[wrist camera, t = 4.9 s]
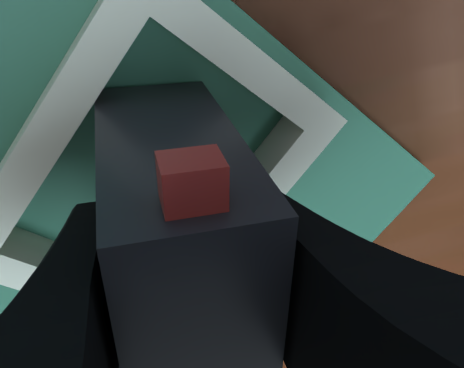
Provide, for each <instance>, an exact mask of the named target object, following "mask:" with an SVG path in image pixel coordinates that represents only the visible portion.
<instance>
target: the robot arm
mask: <svg viewBox="0 0 464 368" xmlns="http://www.w3.org/2000/svg"><path fill="white" fill-rule="evenodd" d="M282 194H283V195H284V196H285V198H286V199H287V201H288V202H289V203H290V205H291V206H292V208H293V209H294V210H295V212H296V213H297V215H298V216H299V221H298V230H297V239H296V248H295V257H294V266H293V275H292V284H291V293H290V302H289V311H288V320H287V329H286V338H285V347H284V356H283V360H284V363H285V365H286V367H287V368H464V276H461V275H458V274H455V273H451V272H449V271H446V270H443V269H440V268H437V267H434V266H431V265H428V264H425V263H422V262H419V261H417V260H414V259H411V258H409V257H406V256H403V255H401V254H398V253H396V252H394V251H391V250H389V249H387V248H384V247H382V246H380V245H377V244H375V243H373V242H370V241H368V240H366V239H364V238H362V237H360V236H358V235H356V234H354V233H352V232H350V231H348V230H346V229H344V228H342V227H340V226H338V225H336V224H335V223H333V222H331V221H329V220H327V219H326V218H324V217H322V216H320V215H319V214H317V213H315V212H313V211H312V210H310V209H308V208H307V207H305V206H303V205H302V204H300V203H298V202H297V201H295V200H293V199H292V198H290V197H289V196H287V195H285V194H284V193H282ZM0 368H119V361H118V356H117V351H116V346H115V341H114V336H113V331H112V326H111V321H110V316H109V311H108V306H107V301H106V295H105V290H104V285H103V280H102V275H101V270H100V265H99V260H98V255H97V250H96V201H95V202H87V203H80V204H76V206H75V207H74V208H73V209H72V211H71V213H70V215H69V217H68V219H67V220H66V222H65V224H64V226H63V228H62V229H61V231H60V233H59V234H58V236H57V238H56V239H55V241H54V242H53V244H52V246H51V247H50V249H49V250H48V252H47V253H46V255H45V256H44V258H43V259H42V261H41V262H40V264H39V265H38V267H37V268H36V269H35V271H34V272H33V273H32V275H31V276H30V277H29V279H28V280H27V281H26V283H25V284H24V285H23V287H22V288H21V289H20V291H19V292H18V293H17V295H16V296H15V297H14V298H13V300H12V301H11V302H10V303H9V305H8V306H7V307H6V308H5V309H4V310H3V312H2V313H1V314H0Z"/></svg>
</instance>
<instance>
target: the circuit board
mask: <svg viewBox="0 0 464 368" xmlns="http://www.w3.org/2000/svg"><path fill="white" fill-rule="evenodd" d="M200 81H202V82H203V83H204V85H205V86H206V88H207V89H208V90H209V92H210V93H211V95H212V96H213V97H214V99H215V100H216V102H217V103H218V104H219V106H220V107H221V109H222V110H223V111H224V113H225V114H226V116H227V117H228V118H229V120H230V121H231V123H232V124H233V125H234V127H235V128H236V129H237V131H238V132H239V134H240V135H241V136H242V138H243V139H244V141H245V142H246V143H247V145H248V146H249V148H250V149H251V150H252V152H253V153H254V155H255V156H256V157H257V159H258V160H259V162H260V163H261V164H262V166H263V167H264V169H265V170H266V171H267V173H268V174H269V176H270V177H271V178H272V180H273V181H274V182H275V184H276V185H277V187H278V188H279V189H280V191H281V192H282V193H284V194H285V195H287V196H289V197H290V198H292V199H293V200H295V201H297V202H298V203H300V204H302V205H303V206H305V207H307V208H308V209H310V210H312V211H313V212H315V213H317V214H319V215H320V216H322V217H324V218H326V219H327V220H329V221H331V222H333V223H335V224H336V225H338V226H340V227H342V228H344V229H346V230H348V231H350V232H352V233H354V234H356V235H358V236H360V237H362V238H364V239H366V240H368V241H370V242H373V241H374V240H375V239H376V237H377V236H378V235H379V234H380V233H381V232H382V231H383V230H384V229H385V228H386V227H387V226H388V225H389V224H390V223H391V222H392V221H393V219H394V218H395V217H396V216H397V215H398V214H399V213H400V212H401V211H402V210H403V209H404V208H405V207H406V206H407V205H408V204H409V203H410V201H411V200H412V199H413V198H414V197H415V196H416V195H417V194H418V193H419V192H420V191H421V190H422V189H423V188H424V187H425V186H426V185H427V183H428V182H429V181H430V180H431V179H432V178H433V177H434V176H435V175H434V174H433V173H432V172H431V171H429V170H428V169H427V168H426V167H425V166H424V165H422V164H421V163H420V162H419V161H418V160H417V159H415V158H414V157H413V156H412V155H411V154H410V153H408V152H407V151H406V150H405V149H404V148H403V147H401V146H400V145H399V144H398V143H397V142H396V141H394V140H393V139H392V138H391V137H390V136H389V135H387V134H386V133H385V132H384V131H383V130H382V129H380V128H379V127H378V126H377V125H376V124H375V123H373V122H372V121H371V120H370V119H369V118H368V117H366V116H365V115H364V114H363V113H362V112H361V111H359V110H358V109H357V108H356V107H355V106H354V105H352V104H351V103H350V102H349V101H348V100H347V99H345V98H344V97H343V96H342V95H341V94H340V93H338V92H337V91H336V90H335V89H334V88H333V87H331V86H330V85H329V84H328V83H327V82H326V81H324V80H323V79H322V78H321V77H320V76H319V75H317V74H316V73H315V72H314V71H313V70H312V69H310V68H309V67H308V66H307V65H306V64H305V63H303V62H302V61H301V60H300V59H299V58H298V57H296V56H295V55H294V54H293V53H292V52H291V51H289V50H288V49H287V48H286V47H285V46H284V45H282V44H281V43H280V42H279V41H278V40H277V39H275V38H274V37H273V36H272V35H271V34H270V33H268V32H267V31H266V30H265V29H264V28H263V27H261V26H260V25H259V24H258V23H257V22H256V21H254V20H253V19H252V18H251V17H250V16H249V15H247V14H246V13H245V12H244V11H243V10H242V9H240V8H239V7H238V6H237V5H236V4H235V3H233V2H232V1H231V0H0V314H1V313H2V312H3V310H4V309H5V308H6V307H7V306H8V305H9V303H10V302H11V301H12V300H13V298H14V297H15V296H16V295H17V293H18V292H19V291H20V289H21V288H22V287H23V285H24V284H25V283H26V281H27V280H28V279H29V277H30V276H31V275H32V273H33V272H34V271H35V269H36V268H37V267H38V265H39V264H40V262H41V261H42V259H43V258H44V256H45V255H46V253H47V252H48V250H49V249H50V247H51V246H52V244H53V242H54V241H55V239H56V238H57V236H58V234H59V233H60V231H61V229H62V228H63V226H64V224H65V222H66V220H67V219H68V217H69V215H70V213H71V211H72V209H73V208H74V207H75V206H76V204H80V203H87V202H95V201H96V183H95V104H94V102H95V101H96V99H97V98H98V96H99V94H100V93H101V91H102V90H103V89H107V88H120V87H133V86H147V85H160V84H173V83H186V82H200ZM119 368H120V366H119Z"/></svg>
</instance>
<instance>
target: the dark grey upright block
mask: <svg viewBox="0 0 464 368" xmlns="http://www.w3.org/2000/svg"><path fill="white" fill-rule="evenodd" d="M94 104H95V183H96V250H97V255H98V260H99V265H100V270H101V275H102V280H103V285H104V290H105V295H106V301H107V306H108V311H109V316H110V321H111V326H112V331H113V336H114V341H115V346H116V351H117V356H118V361H119V366H120V368H282V365H283V356H284V347H285V338H286V329H287V320H288V311H289V302H290V293H291V284H292V275H293V266H294V257H295V248H296V239H297V230H298V221H299V216H298V215H297V213H296V212H295V210H294V209H293V208H292V206H291V205H290V203H289V202H288V201H287V199H286V198H285V196H284V195H283V194H282V192H281V191H280V189H279V188H278V187H277V185H276V184H275V182H274V181H273V180H272V178H271V177H270V176H269V174H268V173H267V171H266V170H265V169H264V167H263V166H262V164H261V163H260V162H259V160H258V159H257V157H256V156H255V155H254V153H253V152H252V150H251V149H250V148H249V146H248V145H247V143H246V142H245V141H244V139H243V138H242V136H241V135H240V134H239V132H238V131H237V129H236V128H235V127H234V125H233V124H232V123H231V121H230V120H229V118H228V117H227V116H226V114H225V113H224V111H223V110H222V109H221V107H220V106H219V104H218V103H217V102H216V100H215V99H214V97H213V96H212V95H211V93H210V92H209V90H208V89H207V88H206V86H205V85H204V83H203V82H202V81H200V82H186V83H173V84H160V85H147V86H133V87H120V88H107V89H103V90H102V91H101V93H100V94H99V96H98V98H97V99H96V101H95V102H94Z"/></svg>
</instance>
